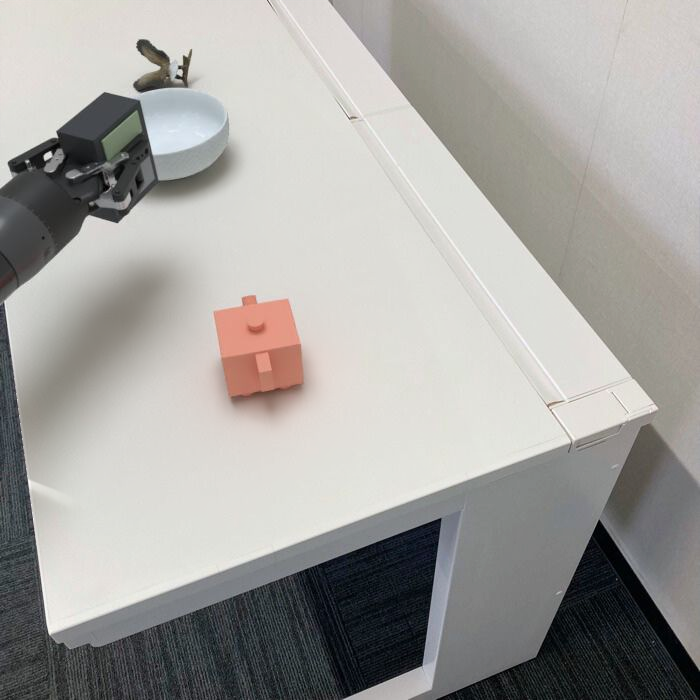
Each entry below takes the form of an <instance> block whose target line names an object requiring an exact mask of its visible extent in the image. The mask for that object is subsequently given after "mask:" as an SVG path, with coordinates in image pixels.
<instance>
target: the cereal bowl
mask: <svg viewBox="0 0 700 700" xmlns="http://www.w3.org/2000/svg"><path fill="white" fill-rule="evenodd" d="M129 98H132V99H137V100H140V102H141V107H142V111H143V115H144V120H145V124H146V128H147V133H148V137H149V141H150V146H151V150H152V154H153V158H154V163H155V167H156V171H157V176H158V180H159V181H171V180H172V181H174V180H180V179H183V178H184V179H185V178H187V177H190V176H194V175H196V174H198V173H200V172H202V171H204V170H205V169H207V168H209V167H210V166H211V165H212V164H214V163H215V162H216V161H217V160H218V159H219V157H220V156H221V155H222V154H223V152H224V150H225V149H226V147H227V145H228V141H229V137H230V136H229V135H230V118H229V112H228V110H227V107H226V106H225V104H224V103H223V102H222V100H220V99H219V98H218V97H216V96H215V95H213V94H212V93H208V92H206V91H202V90H200V89H194V88H188V87H165V88H164V87H163V88H158V89H157V88H156V89H152V90H148V91H144V92H140V93H138V94H135V95H133V96H131V97H129Z"/></svg>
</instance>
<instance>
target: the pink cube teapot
mask: <svg viewBox="0 0 700 700" xmlns="http://www.w3.org/2000/svg"><path fill="white" fill-rule="evenodd" d="M241 304H242V305H240V306H235V307H230V308H229V307H228V308H223V309H218V310H214V311H213V317H214V324H215V327H216V328H215V329H216V334H217V340H218V345H219V352H220V356H221V357H220V358H221V363H222V368H223V372H224V377H225V382H226V383H225V384H226V387H227V394H228V397H229V398H232V397H236V396H242V397H250V396H252V395H253V394H254V393H258V392H262V393H264V392H269V391H274V390H275V389H280V390H288V389H290V388H291V387H292V386H295V385H300V384H305V381H304V367H303V357H302V356H303V354H302V345H301V340H300V336H299V333H298V330H297V325H296V322H295V318H294V315H293V311H292V307H291V303H290V300H289V298H281V299H277V300H270V301H264V302H258V301H257V296H256V295H255V294H251V295H245V296H242V297H241Z"/></svg>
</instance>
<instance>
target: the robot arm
mask: <svg viewBox="0 0 700 700" xmlns="http://www.w3.org/2000/svg"><path fill="white" fill-rule="evenodd" d="M48 153H51V157H49V158H48V159H46V160H45V157H44V156H45V155H46V154H48ZM150 153H151V152H150V147H149V143H148V138H147V136H146V135H143V134H138V135H137V136H136V137H135V138H134V139H133V140H132V141H131V142H129V143H128V144H127V145H126V146H125V147H124V148H123V149H122V150H121V152H120V153H118V154H116V155H114V156H113V157H112V158H111V159H110V160H109V161H107V160H105V159H102V160H100V161H96V160H95V161H93V162H91V163H89V164H87V165H80V164H78V163H76V162H74V161H70V160H69V161H67V159H68V158H69V156H68V153H66V152H63V151H62V148H61V145H60V142H59V139H58V137H51V138H48V139H47V140H45V141H43V142H41V143H39V144H37V145H36V146H34V147H31V148H30V149H28V150H26V151H24V152H23V153H20V154H18V155H17V156H15V157H13V158H11V159H10V160H8V161H7V166H8V169H9V172H10V174H11V177H12V178H11V179H10V180H8V181H7V182H6V183H5V184H4V185H3V186H1V187H0V306H1V305H2V304H4V302H6V300H8V299H9V298H10V297H11V296H12V294H14V293H15V292H16V291H17V290H18V289H19V288H20V287H22V286H24V284H26V283H27V282H29V281H30V280H32V279H33V278H34V277H36V275H38V274H39V273H40V272H41V271H42V270H43V269H44V268H45V267H46V266H47V265H48V264H49V263H50V262H51V261H52V260H53V259H54V258H55V257H56V256H58V254H59V253H61V252H62V250H63V249H64V248H65V247H66V246H67V245H68V244H70V243H71V242H72V240H73V239H74V238H76V237H77V236H78V234H79V233H80V232H81V229H82V226H83V224H84V222H85V220H86V218H88V217H90V214H93V213H95V212H97V211H99V210H100V209H101V207H103V208H115V209H116V212H117V214H118V215H119V216H124V217H126V216H128V215H129V214H130V212H131V211H132V209H133V208H134V207H133V205H134V203H135V201H136V199H137V197H138V195H139V193H140V191H141V190H142V188H143V186H144V184H145V180H144V176H143V172H142V168H141V163H142V162H143V161H144V160H145V159H146V158H147V157H148V156H149V155H150ZM66 161H67V162H66ZM118 166H119V168H120V171H119V172H118V173H117V174H116V175H115V176H114V174H113V169H114V168H116V167H118ZM100 171H102V173H103V176H104V180H105V183H104V184H102V182H101V179H100V175H99V173H98V172H100ZM132 207H133V208H132Z"/></svg>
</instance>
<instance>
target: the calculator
mask: <svg viewBox="0 0 700 700" xmlns="http://www.w3.org/2000/svg"><path fill="white" fill-rule="evenodd" d="M55 133H56V135H57V138H58V139H59V142H60V145H61V148H62V151H63V152H66V153H68V156H69V158H68V159H67V161H69V160H70V161H74V162H76V163H78V164H80V165H87V164H89V163H91V162H93V161H95V160H96V161H100V160H102V159H105V160H107V161H109V160H110V159H111V158H112V157H113V156H114V155H116V154H118V153H120V152H121V150H122V149H123V148H124V147H125V146H126V145H127V144H128V143H129V142H131V141H132V140H133V139H134V138H135V137H136V136H137V135H138V134H143V135H146V136H147V138H148V143H149V147H150V152H151V153H150V155H149V156H148V157H147V158H146V159H145V160H144V161H143V162H142V163H141V168H142V172H143V176H144V180H145V184H144V186H143V188H142V190H141V191H140V193H139V195H138V197H137V199H136V201H135V203H134V205H133V207H132V209H134V208H135V207H136V206H137V205H138V204H139V202H141V201H142V200H143V198H144V197H145V196H146V195H148V193H149V192H150V191H152V189H153V188H154V187H156V185H158V183H159V181H160V180H158V176H157V171H156V167H155V163H154V158H153V154H152V150H151V146H150V141H149V137H148V133H147V128H146V124H145V120H144V115H143V111H142V107H141V102H140V100H137V99H132V98H130V97H128V96H123V95H119V94H115V93H111V92H105V91H103V92H102V93H101V94H100V95H98V96H97V97H96V98H95V99H94V100H92V101H91V102H90V103H88V104H87V106H85V107H84V108H83V109H82V110H80V111H79V112H78V113H77V114H75V115H74V116H73V117H72V118H70V119H69V120H68V121H67V122H66V123H64V124H63V125H62V126H61V127H59V128H58V129H57V130H56V132H55ZM67 161H66V162H67ZM119 171H120V168H119V166H118V167H116V168H114V169H113V174H114V176H115V175H116V174H117V173H118V172H119ZM98 173H99V175H100V179H101V182H102V184H104V183H105V180H104V176H103V173H102V171H100V172H98ZM89 217H94V218H97V219H101V220H104V221H107V222H111V223H115V224H119V223H120V222H121V221H122V220H123V219H124V217H125V216H119V215H118V214H117V212H116V209H115V208H103V207H101V209H100V210H99V211H97V212H95V213H93V214H90V215H89Z"/></svg>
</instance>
